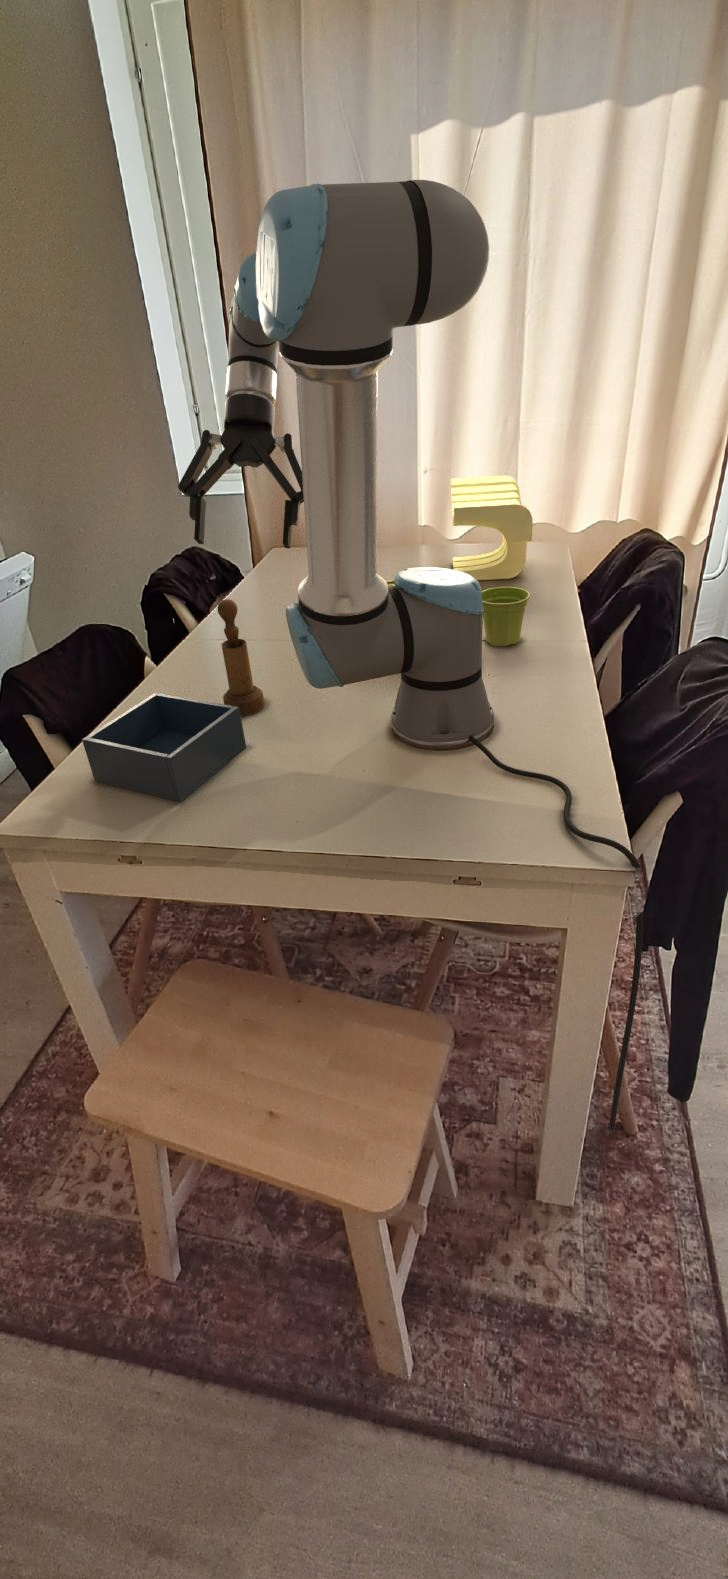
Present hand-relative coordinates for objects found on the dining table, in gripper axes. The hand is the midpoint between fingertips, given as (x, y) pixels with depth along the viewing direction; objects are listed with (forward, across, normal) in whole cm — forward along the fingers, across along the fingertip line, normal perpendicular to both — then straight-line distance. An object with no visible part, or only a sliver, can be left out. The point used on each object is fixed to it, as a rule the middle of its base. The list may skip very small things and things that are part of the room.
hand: (242, 544), depth 117 cm
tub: (+34, +7, +8) cm, 36 cm away
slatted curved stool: (-13, -43, -63) cm, 78 cm away
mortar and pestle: (+25, 0, -7) cm, 26 cm away
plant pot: (+9, -43, -26) cm, 51 cm away
